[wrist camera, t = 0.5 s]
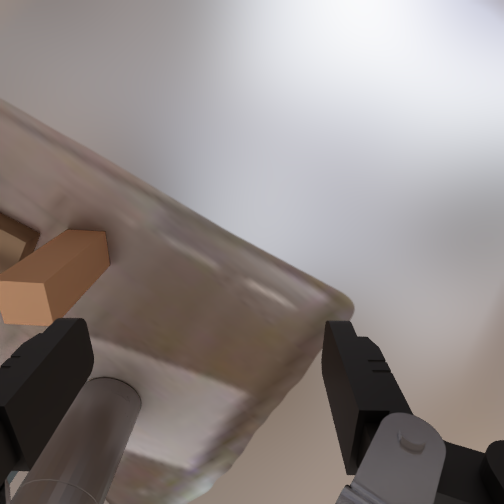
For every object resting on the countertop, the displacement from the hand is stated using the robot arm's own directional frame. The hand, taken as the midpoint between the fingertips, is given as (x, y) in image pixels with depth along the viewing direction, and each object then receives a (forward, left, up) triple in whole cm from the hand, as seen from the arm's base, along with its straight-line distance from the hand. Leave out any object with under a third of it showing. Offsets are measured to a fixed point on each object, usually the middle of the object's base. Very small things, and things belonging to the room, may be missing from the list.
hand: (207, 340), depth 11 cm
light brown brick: (-17, +11, -27) cm, 34 cm away
